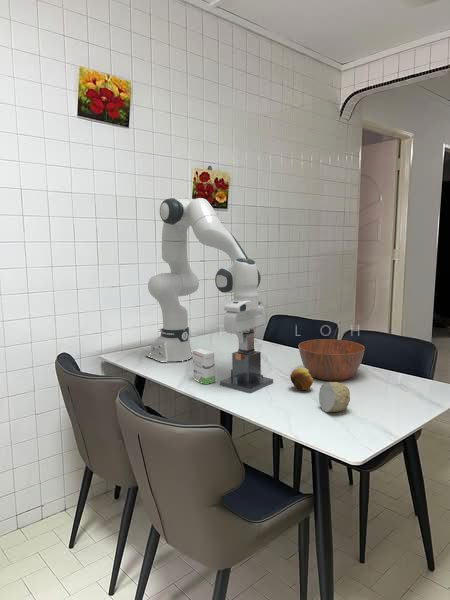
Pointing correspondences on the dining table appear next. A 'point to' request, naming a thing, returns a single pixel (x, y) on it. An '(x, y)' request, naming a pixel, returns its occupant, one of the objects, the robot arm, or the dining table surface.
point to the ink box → (203, 366)
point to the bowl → (331, 358)
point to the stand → (246, 373)
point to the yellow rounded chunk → (334, 397)
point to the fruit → (301, 378)
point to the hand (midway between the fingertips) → (246, 341)
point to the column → (247, 343)
